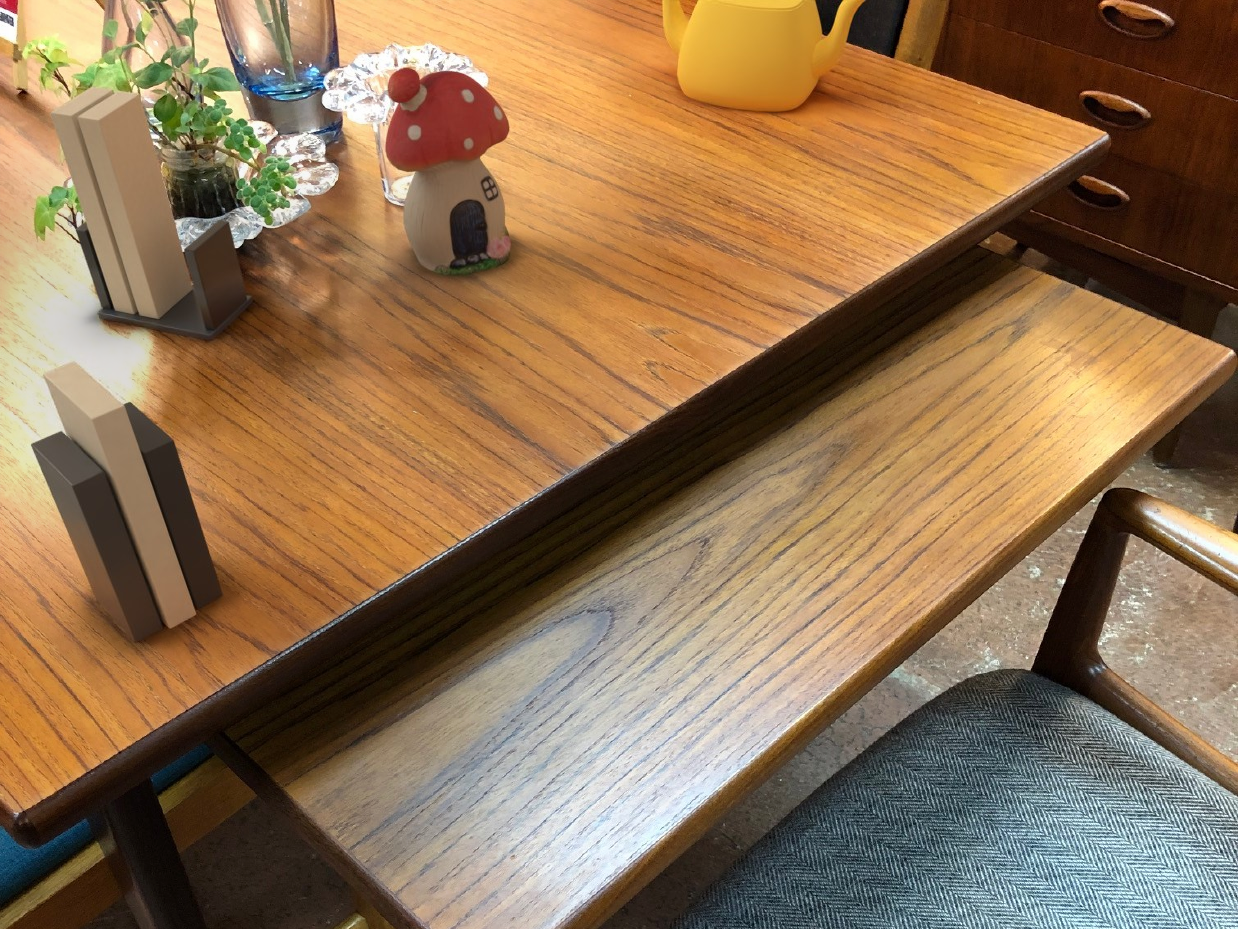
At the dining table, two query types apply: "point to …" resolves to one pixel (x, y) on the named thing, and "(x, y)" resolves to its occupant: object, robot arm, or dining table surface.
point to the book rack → (202, 307)
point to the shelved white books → (123, 199)
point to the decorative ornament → (449, 170)
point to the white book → (123, 482)
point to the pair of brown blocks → (104, 533)
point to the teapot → (754, 50)
